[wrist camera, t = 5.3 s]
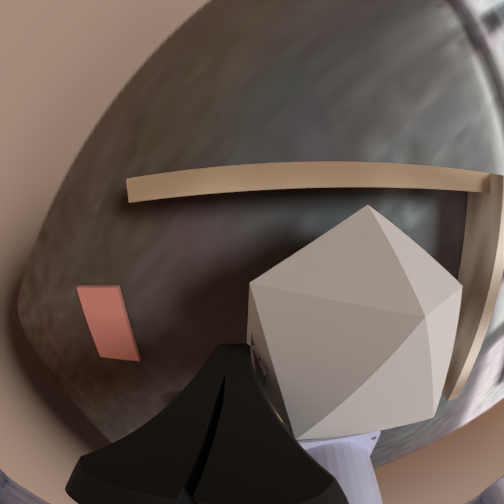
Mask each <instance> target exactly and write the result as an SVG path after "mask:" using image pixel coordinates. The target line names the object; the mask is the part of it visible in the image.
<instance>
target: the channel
mask: <svg viewBox="0 0 504 504" xmlns="http://www.w3.org/2000/svg"><path fill="white" fill-rule="evenodd" d="M126 183H127V192H128V200H129V203H131V202H138V201H146V200H154V199H163V198H172V197H181V196H191V195H202V194H213V193H225V192H239V191H254V190H271V189H293V188H328V187H389V188H422V189H442V190H458V191H467V210H466V223H465V233H464V242H463V249H462V256H461V262H460V268H459V274H458V279H457V281H458V282H459V283H460V284H461V285H462V286H463V287H462V296H461V305H460V312H459V319H458V325H457V331H456V336H455V342H454V347H453V351H452V356H451V360H450V364H449V368H448V372H447V376H446V380H445V383H444V387H443V390H442V393H443V395H444V396H445V398H446V400H447V401H449V400H452V399H455V398H457V397H459V395H460V393H461V391H462V389H463V387H464V385H465V382H466V380H467V378H468V376H469V374H470V372H471V369H472V367H473V365H474V363H475V360H476V358H477V355H478V353H479V350H480V348H481V345H482V342H483V340H484V337H485V334H486V331H487V328H488V326H489V322H490V319H491V316H492V313H493V310H494V306H495V303H496V299H497V295H498V291H499V287H500V283H501V279H502V275H503V270H504V176H502V175H496V174H490V173H484V172H477V171H470V170H462V169H454V168H445V167H436V166H425V165H413V164H398V163H378V162H282V163H262V164H246V165H233V166H221V167H210V168H201V169H192V170H183V171H175V172H168V173H160V174H153V175H147V176H140V177H134V178H128V179H126ZM267 399H268V398H267ZM268 401H269V400H268ZM269 403H270V401H269ZM270 404H271V403H270ZM271 406H272V404H271ZM272 408H273V409H274V407H273V406H272ZM274 411H275V413H276V414H277V416H278V417H279V419H280V420H281V421H282V419H281V418H280V416H279V415H278V413H277V412H276V410H275V409H274ZM282 422H283V421H282Z"/></svg>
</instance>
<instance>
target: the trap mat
mask: <svg viewBox="0 0 504 504" xmlns="http://www.w3.org/2000/svg"><path fill="white" fill-rule="evenodd" d="M76 288H77V292H78V295H79V298H80V302H81V305H82V308H83V311H84V314H85V317H86V320H87V323H88V326H89V329H90V331H91V334H92V337H93V339H94V342H95V345H96V347H97V350H98V352H99V355H100V357H105V358H113V359H122V360H131V361H140V359H141V357H140V354H139V351H138V348H137V345H136V342H135V339H134V336H133V332H132V329H131V326H130V322H129V319H128V315H127V312H126V308H125V304H124V301H123V297H122V293H121V289H120V285H79V286H78V287H76Z"/></svg>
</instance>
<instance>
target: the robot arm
mask: <svg viewBox="0 0 504 504" xmlns="http://www.w3.org/2000/svg"><path fill="white" fill-rule="evenodd" d="M380 433H381V432H380V430H379V431H373V432H368V433H361V434H355V435H347V436H339V437H330V438H318V439H309V440H298V441H297V440H296V439H295V438H294V437H293V436H292V434H291V433H290V432H289V431H288V430H287V428H286V427H285V426H284V424H283V423H282V421H281V420H280V419H279V417H278V416H277V414H276V413H275V411H274V409H273V408H272V406H271V404H270V403H269V401H268V399H267V397H266V395H265V393H264V391H263V389H262V387H261V385H260V383H259V380H258V378H257V375H256V373H255V370H254V367H253V363H252V359H251V349H250V345H248V344H247V343H246V344H219V345H218V346H216V348H215V349H214V351H213V353H212V354H211V356H210V357H209V358H208V360H207V361H206V363H205V364H204V365H203V367H202V368H201V369H200V371H199V372H198V373H197V374H196V376H195V377H194V378H193V379H192V381H191V382H190V383H189V384H188V385H187V386H186V387H185V388H184V390H183V391H182V392H181V393H180V394H179V395H178V396H177V397H176V398H175V399H174V400H173V401H172V402H171V403H170V404H169V405H168V406H167V407H166V408H164V409H163V410H162V411H161V412H160V413H159V414H157V415H156V416H155V417H153V418H152V419H151V420H150V421H148V422H147V423H146V424H144V425H143V426H141V427H140V428H138V429H137V430H135V431H134V432H132V433H130V434H129V435H127V436H125V437H124V438H122V439H120V440H118V441H116V442H114V443H112V444H110V445H108V446H106V447H104V448H101V449H99V450H96V451H94V452H91V453H89V454H86V455H83V456H81V457H80V459H79V460H78V462H77V464H76V466H75V468H74V470H73V472H72V474H71V476H70V479H69V481H68V483H67V485H66V488H65V490H66V493H67V494H68V495H69V496H70V497H71V498H72V499H73V500H74V501H76V502H77V503H78V504H383V503H382V499H381V495H380V492H379V488H378V484H377V480H376V477H375V474H374V470H373V466H372V463H371V459H370V455H371V453H372V450H373V448H374V446H375V444H376V442H377V440H378V438H379V436H380ZM0 504H50V503H48V502H46V501H44V500H42V499H41V498H39V497H37V496H36V495H34V494H33V493H31V492H29V491H28V490H26V489H25V488H23V487H22V486H20V485H19V484H17V483H16V482H14V481H13V480H11V479H10V478H8V477H7V476H6V475H5V474H4V472H2V470H0ZM465 504H504V475H503V476H502V477H501V478H499V479H498V480H496V481H495V482H494V483H492V484H491V485H490V486H489V487H488V488H486V489H485V490H484V491H483V492H482V493H481V494H480V495H479V496H477V497H475V498H474V499H472V500H470V501H468V502H467V503H465Z"/></svg>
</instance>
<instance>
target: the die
mask: <svg viewBox="0 0 504 504" xmlns="http://www.w3.org/2000/svg"><path fill="white" fill-rule="evenodd" d="M462 287H463V286H462V285H461V284H460V283H459V282H458V281H457V280H456V279H455V278H454V277H453V276H452V275H451V274H450V273H449V272H448V271H447V270H445V269H444V268H443V267H442V266H441V265H440V264H439V263H438V262H437V261H436V260H435V259H433V258H432V257H431V256H430V255H429V254H428V253H427V252H426V251H424V250H423V249H422V248H421V247H420V246H419V245H418V244H416V243H415V242H414V241H413V240H412V239H410V238H409V237H408V236H407V235H406V234H404V233H403V232H402V231H401V230H400V229H398V228H397V227H396V226H395V225H393V224H392V223H391V222H390V221H388V220H387V219H386V218H385V217H383V216H382V215H381V214H379V213H378V212H377V211H375V210H374V209H373V208H372V207H370V206H369V205H367V206H365V207H364V208H362V209H361V210H359V211H358V212H356V213H355V214H353V215H352V216H350V217H349V218H347V219H346V220H344V221H343V222H341V223H340V224H338V225H337V226H335V227H334V228H332V229H331V230H329V231H328V232H326V233H325V234H323V235H322V236H320V237H319V238H317V239H315V240H314V241H312V242H311V243H309V244H308V245H306V246H305V247H303V248H302V249H300V250H299V251H297V252H296V253H294V254H292V255H291V256H289V257H288V258H286V259H285V260H283V261H282V262H280V263H279V264H277V265H276V266H274V267H273V268H271V269H270V270H268V271H267V272H265V273H264V274H262V275H261V276H259V277H258V278H256V279H254V280H253V281H251V282H250V284H249V304H248V324H247V344H248V345H250V349H251V359H252V363H253V367H254V370H255V373H256V375H257V378H258V380H259V383H260V385H261V387H262V389H263V391H264V393H265V395H266V397H267V398H268V400H269V401H270V403H271V404H272V406H273V407H274V409H275V410H276V412H277V413H278V415H279V416H280V418H281V419H282V421H283V422H284V424H285V425H286V427H287V428H288V430H289V431H290V433H291V434H292V436H293V437H294V438H295V439H296V440H303V439H318V438H330V437H339V436H347V435H355V434H361V433H368V432H373V431H379V430H384V429H389V428H394V427H399V426H403V425H407V424H411V423H415V422H419V421H423V420H426V419H430V418H433V417H434V415H435V412H436V409H437V406H438V403H439V400H440V397H441V394H442V390H443V387H444V383H445V380H446V376H447V372H448V368H449V364H450V360H451V356H452V351H453V347H454V342H455V336H456V331H457V325H458V319H459V312H460V305H461V296H462Z"/></svg>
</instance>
